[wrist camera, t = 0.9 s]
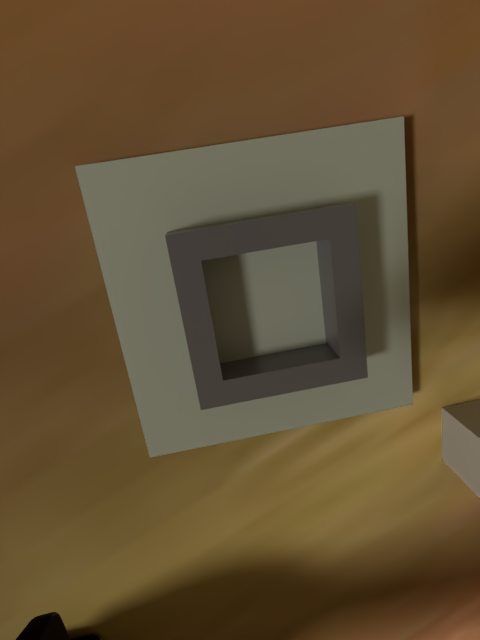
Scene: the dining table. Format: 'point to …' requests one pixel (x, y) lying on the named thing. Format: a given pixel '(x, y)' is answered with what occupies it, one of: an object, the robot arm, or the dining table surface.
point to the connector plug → (462, 442)
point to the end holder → (258, 281)
